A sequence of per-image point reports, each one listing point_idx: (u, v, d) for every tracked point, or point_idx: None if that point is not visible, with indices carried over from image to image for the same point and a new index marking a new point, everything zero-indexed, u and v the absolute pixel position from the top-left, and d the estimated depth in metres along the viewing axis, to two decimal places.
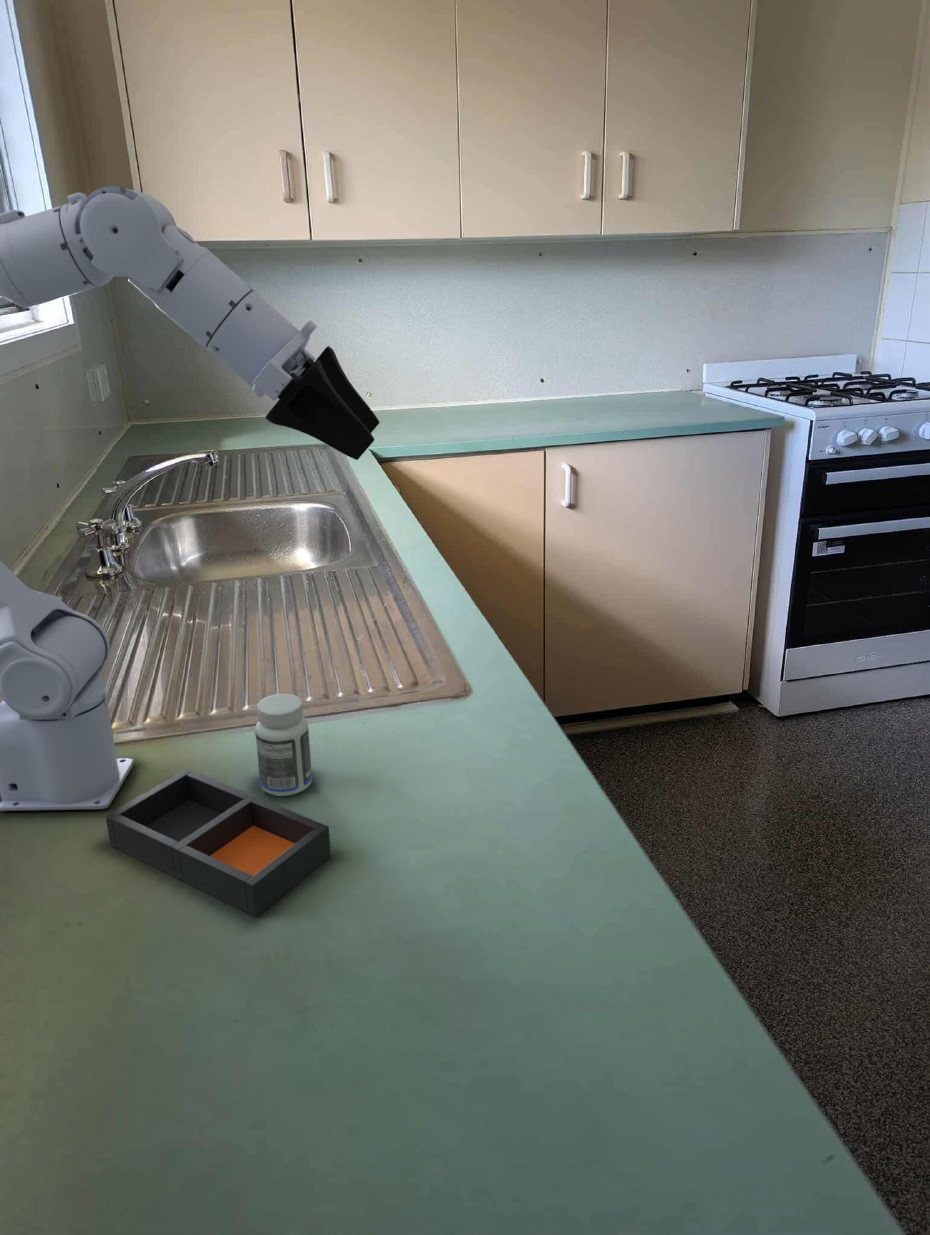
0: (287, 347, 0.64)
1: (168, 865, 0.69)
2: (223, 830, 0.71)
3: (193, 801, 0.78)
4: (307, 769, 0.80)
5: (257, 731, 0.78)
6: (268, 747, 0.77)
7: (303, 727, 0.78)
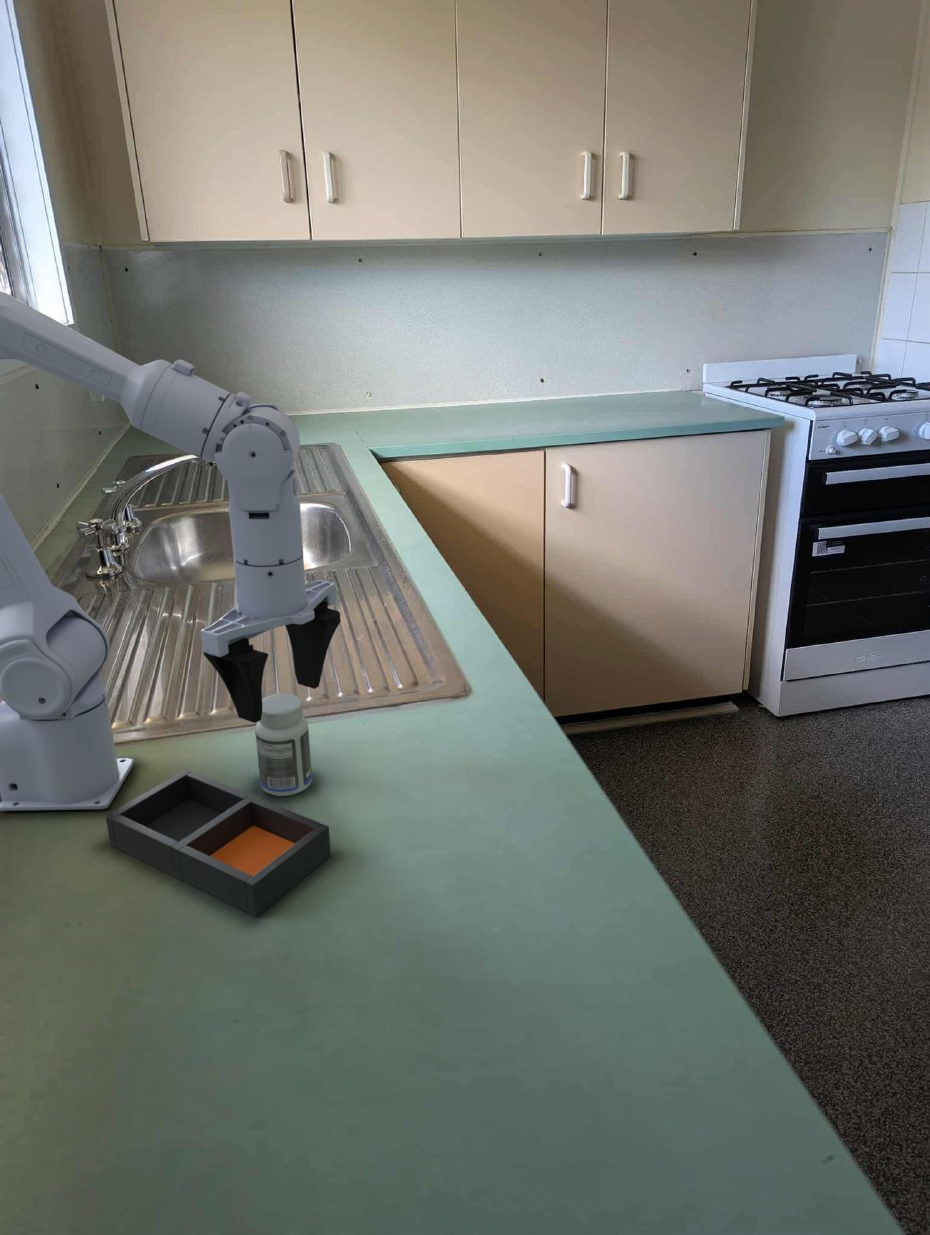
0: (259, 625, 0.71)
1: (168, 865, 0.69)
2: (223, 830, 0.71)
3: (193, 801, 0.78)
4: (307, 769, 0.80)
5: (257, 731, 0.78)
6: (268, 747, 0.77)
7: (303, 727, 0.78)
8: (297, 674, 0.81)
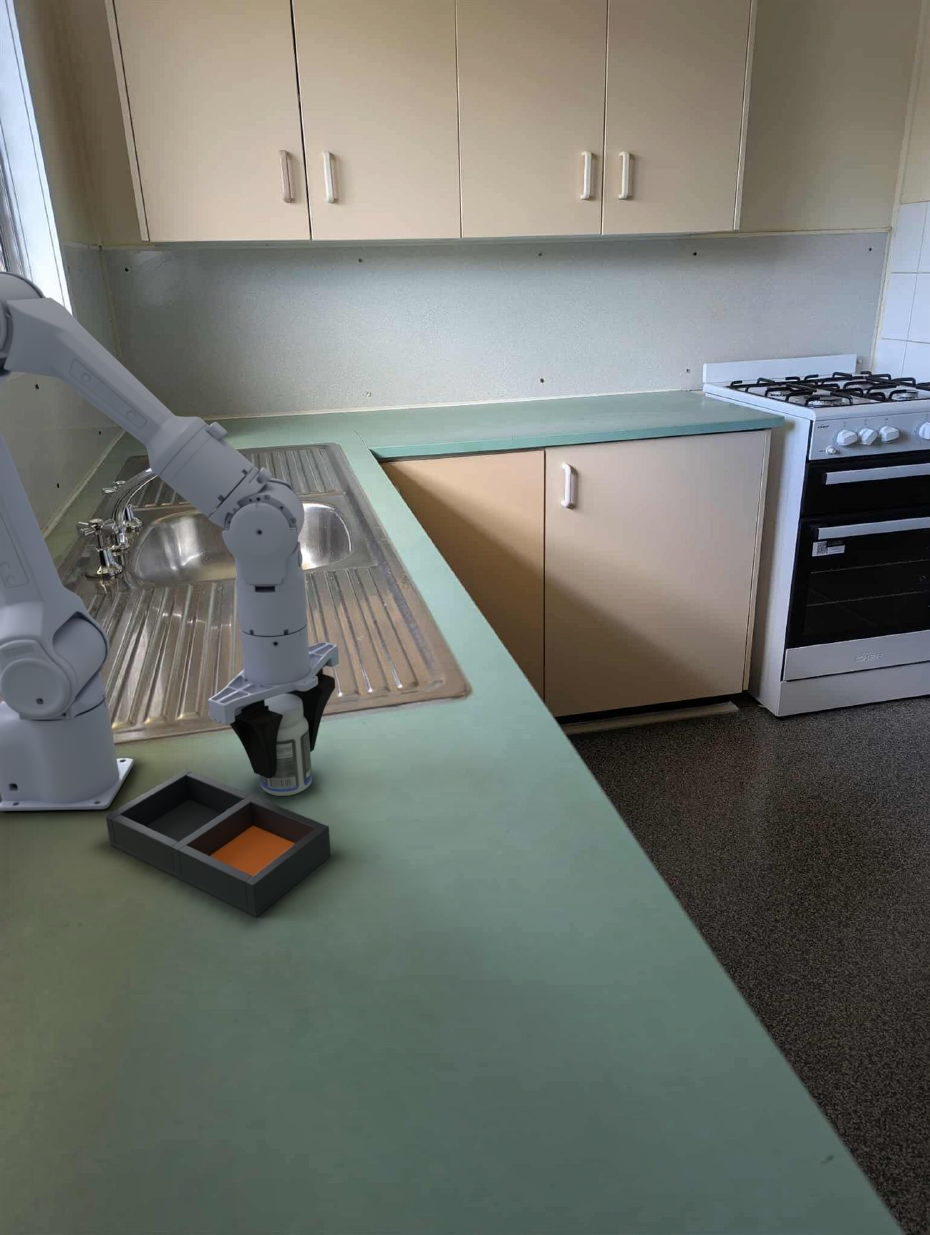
0: (264, 693, 0.73)
1: (168, 865, 0.69)
2: (223, 830, 0.71)
3: (193, 801, 0.78)
4: (307, 769, 0.80)
5: None
6: None
7: (303, 727, 0.78)
8: None
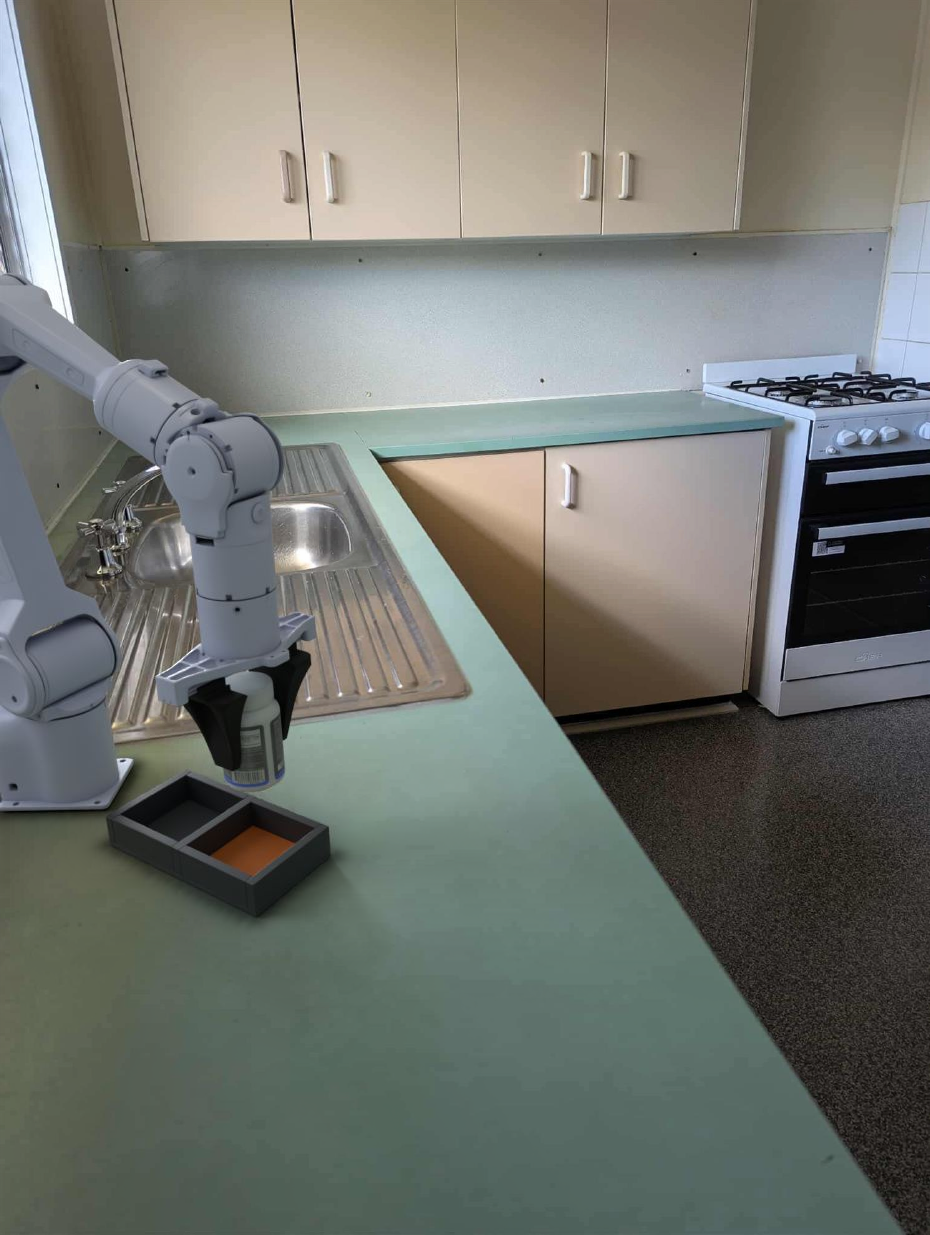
0: (224, 668, 0.61)
1: (168, 865, 0.69)
2: (223, 830, 0.71)
3: (193, 801, 0.78)
4: (279, 760, 0.68)
5: None
6: None
7: (273, 711, 0.66)
8: None
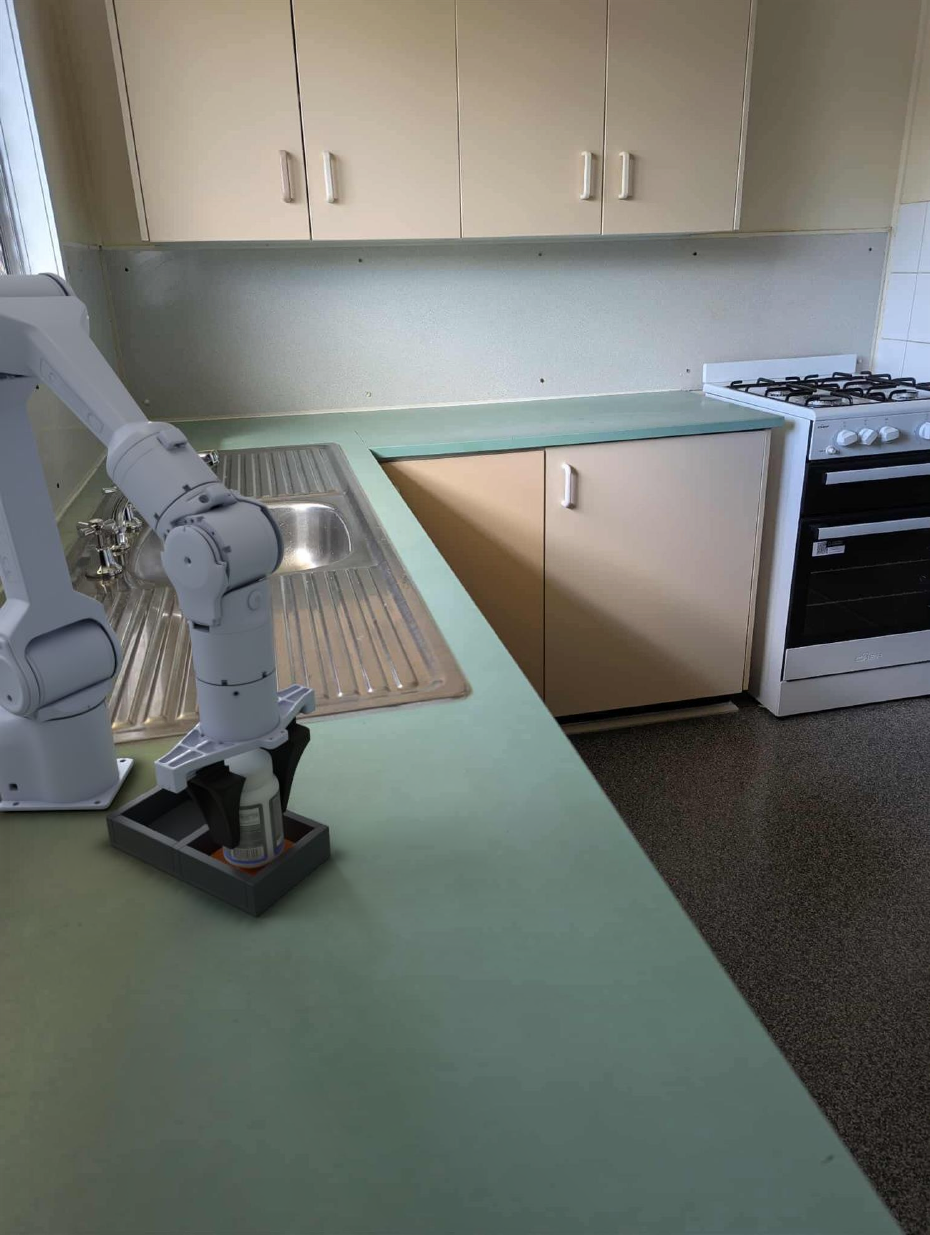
0: (223, 752, 0.61)
1: (168, 865, 0.69)
2: None
3: (193, 801, 0.78)
4: (278, 836, 0.68)
5: None
6: None
7: (272, 788, 0.67)
8: None
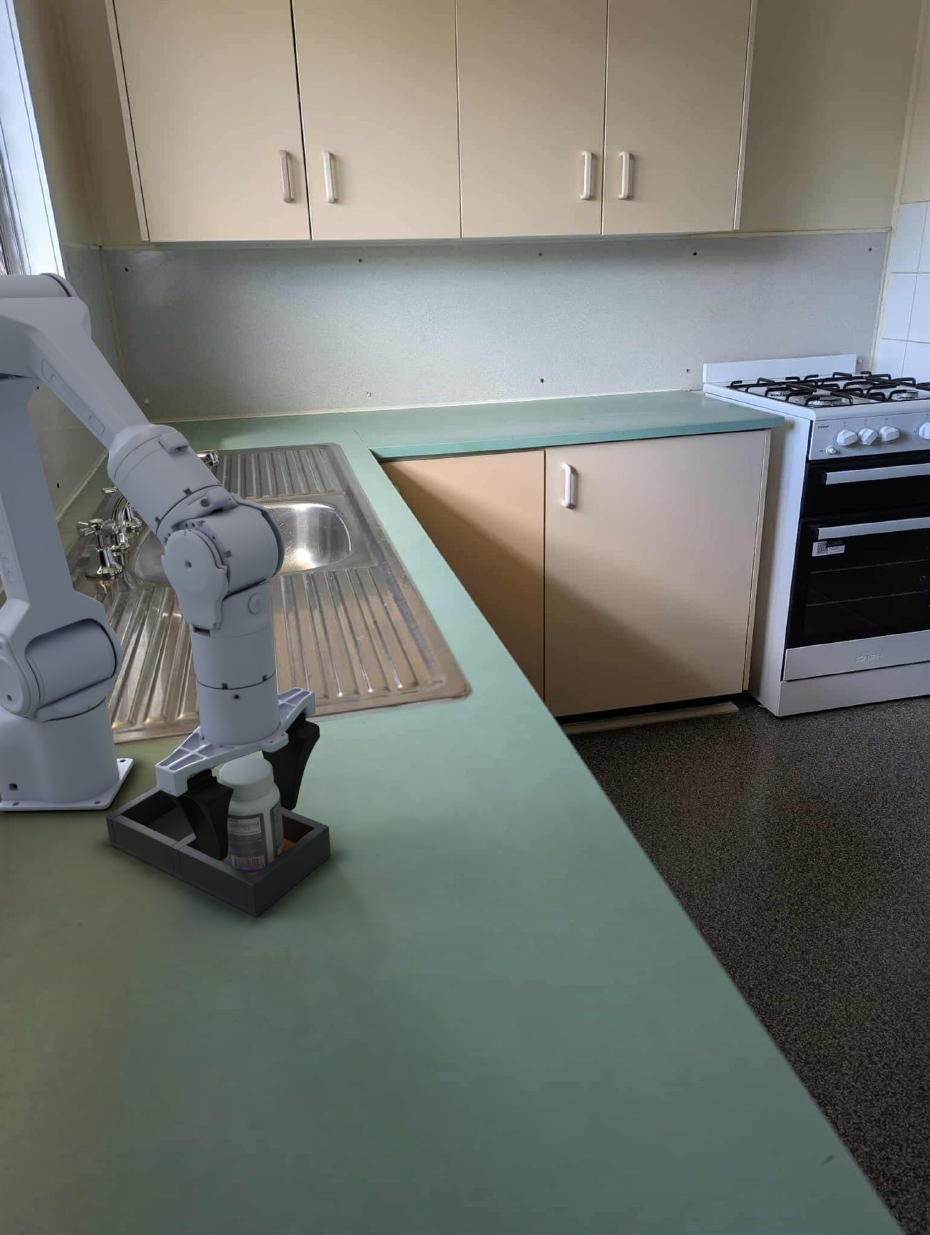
0: (223, 756, 0.62)
1: (168, 865, 0.69)
2: None
3: None
4: (278, 845, 0.68)
5: None
6: (232, 822, 0.66)
7: (273, 798, 0.67)
8: None
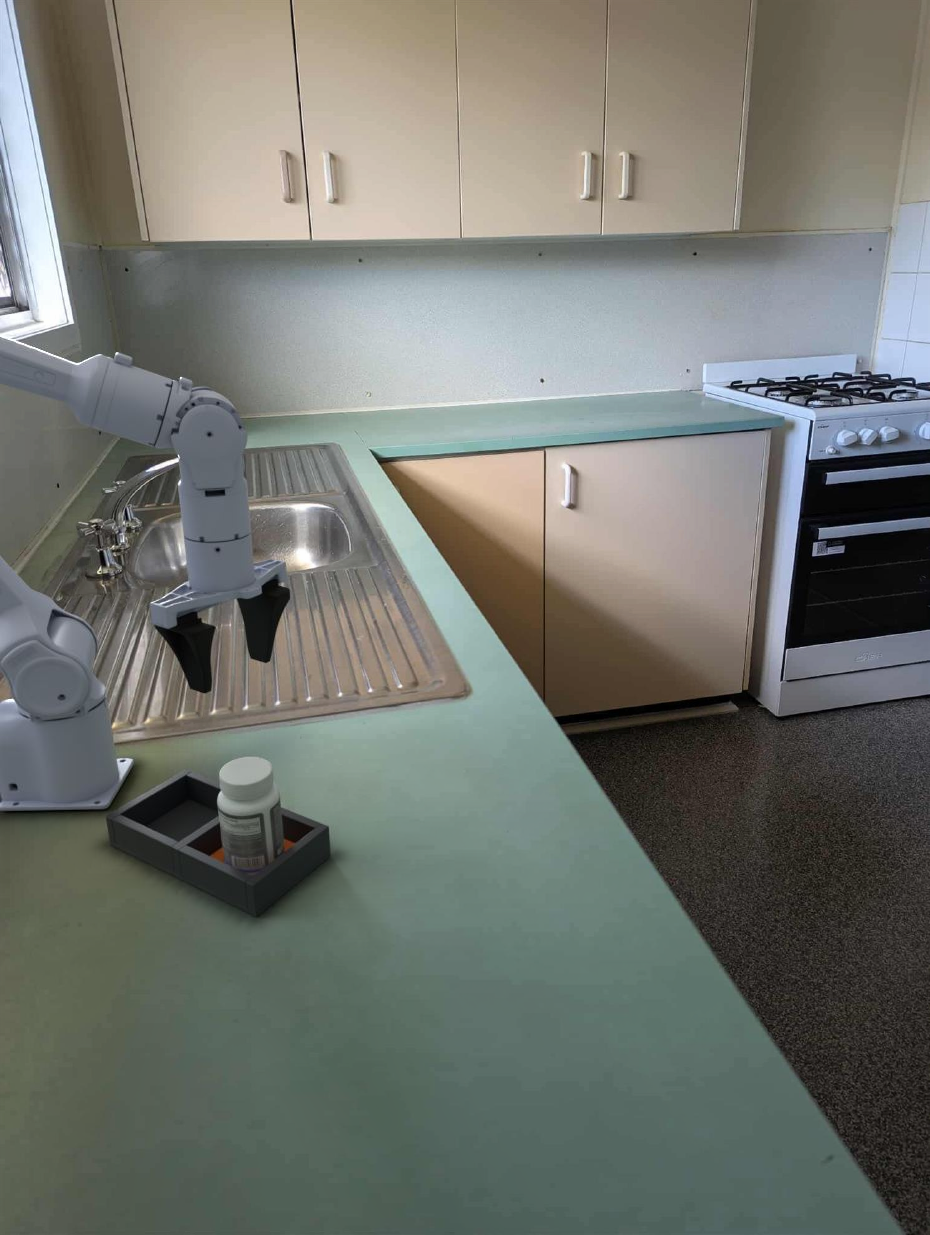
0: (207, 598, 0.74)
1: (168, 865, 0.69)
2: None
3: (193, 801, 0.78)
4: (278, 845, 0.68)
5: (219, 803, 0.66)
6: (232, 822, 0.66)
7: (273, 798, 0.67)
8: (249, 649, 0.84)
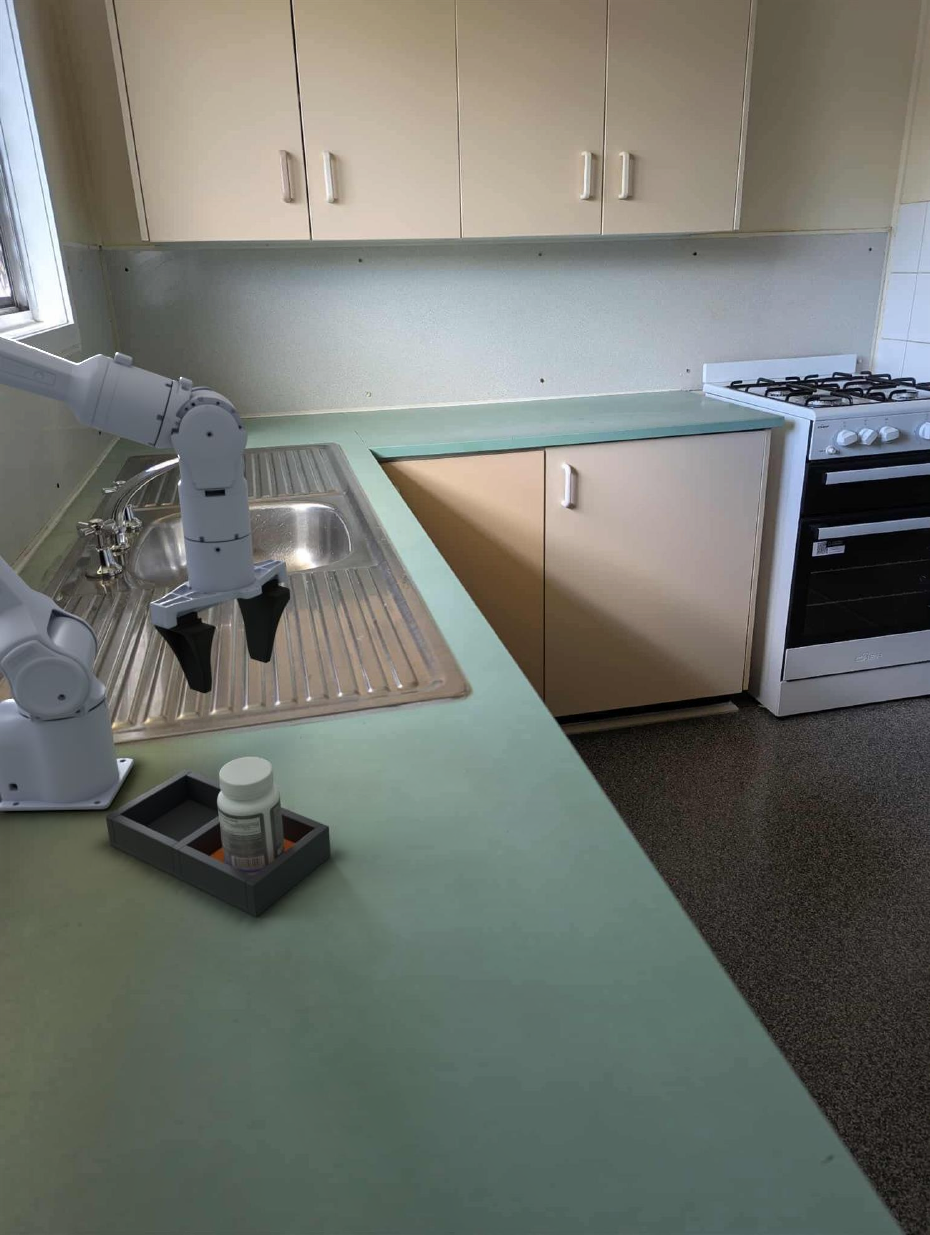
0: (207, 598, 0.74)
1: (168, 865, 0.69)
2: None
3: (193, 801, 0.78)
4: (278, 845, 0.68)
5: (219, 803, 0.66)
6: (232, 822, 0.66)
7: (273, 798, 0.67)
8: (249, 649, 0.84)
